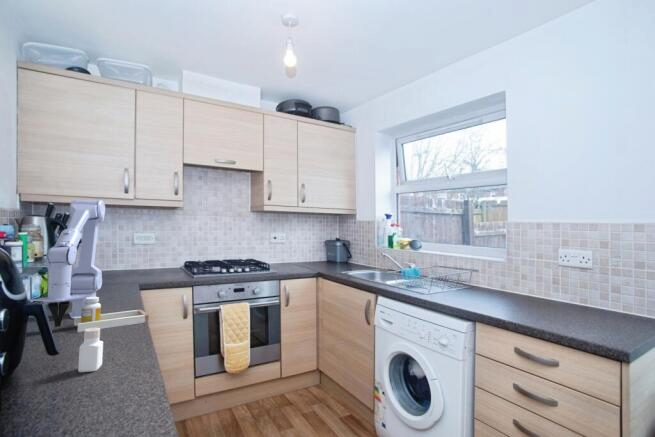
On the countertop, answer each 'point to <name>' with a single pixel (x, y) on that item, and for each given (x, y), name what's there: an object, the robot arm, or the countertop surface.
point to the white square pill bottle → (90, 351)
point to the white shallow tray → (113, 320)
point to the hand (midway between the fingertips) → (57, 325)
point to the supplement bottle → (91, 310)
